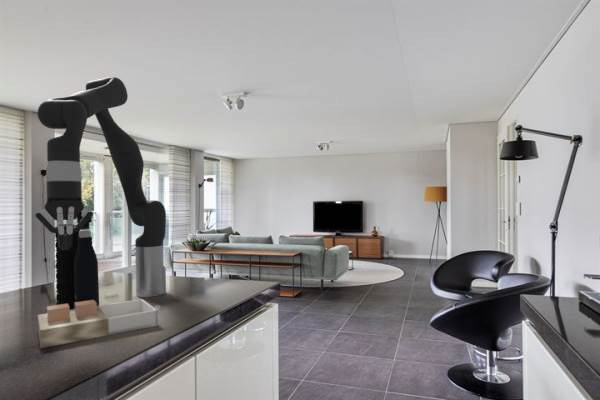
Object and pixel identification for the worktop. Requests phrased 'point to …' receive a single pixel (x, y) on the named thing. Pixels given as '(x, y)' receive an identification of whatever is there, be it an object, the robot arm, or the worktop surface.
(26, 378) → the worktop surface
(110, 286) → the worktop surface
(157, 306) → the chef's knife
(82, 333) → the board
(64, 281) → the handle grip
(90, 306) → the tile
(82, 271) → the wine bottle
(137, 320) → the tray
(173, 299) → the worktop surface
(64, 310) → the tile
